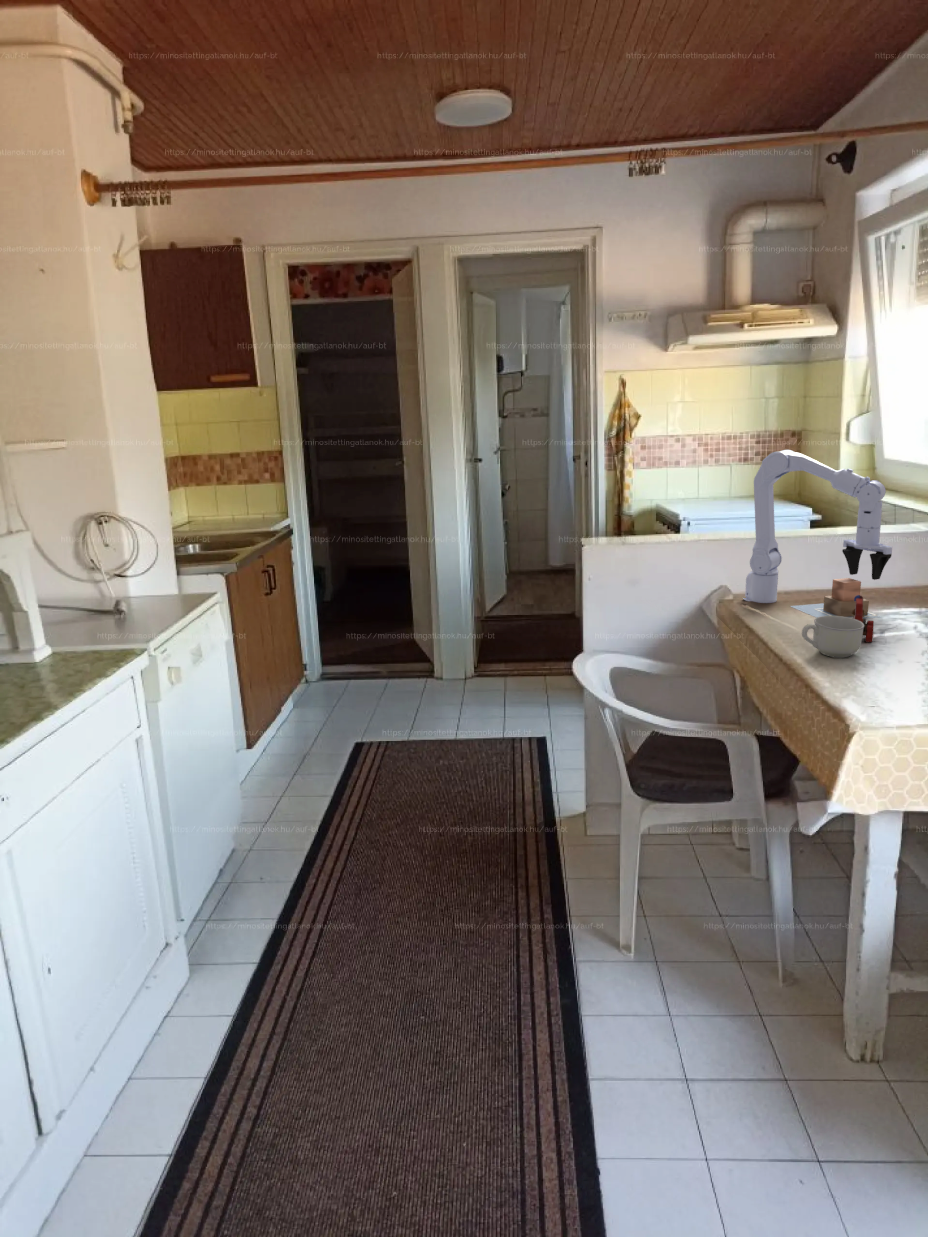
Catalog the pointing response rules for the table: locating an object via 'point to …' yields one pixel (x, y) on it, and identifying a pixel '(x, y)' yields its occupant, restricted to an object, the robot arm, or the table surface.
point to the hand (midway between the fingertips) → (864, 576)
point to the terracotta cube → (845, 589)
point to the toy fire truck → (859, 614)
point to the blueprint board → (818, 611)
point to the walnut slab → (842, 606)
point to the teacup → (835, 635)
